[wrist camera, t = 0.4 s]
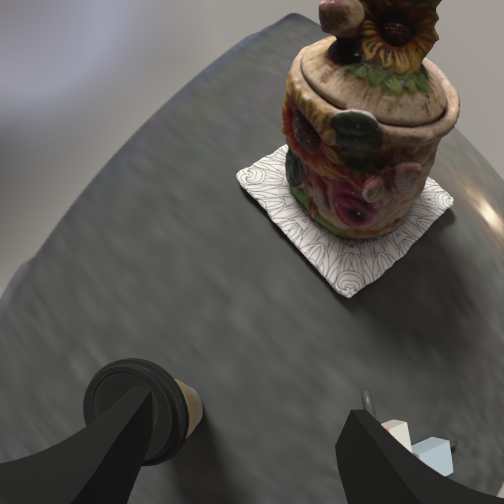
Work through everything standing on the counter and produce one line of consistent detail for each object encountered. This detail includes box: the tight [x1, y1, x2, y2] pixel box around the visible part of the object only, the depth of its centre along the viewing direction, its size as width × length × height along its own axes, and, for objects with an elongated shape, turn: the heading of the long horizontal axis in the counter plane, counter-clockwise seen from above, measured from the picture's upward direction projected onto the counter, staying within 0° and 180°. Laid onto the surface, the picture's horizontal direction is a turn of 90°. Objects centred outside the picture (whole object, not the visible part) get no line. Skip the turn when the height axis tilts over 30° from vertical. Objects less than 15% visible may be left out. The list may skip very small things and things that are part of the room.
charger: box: [411, 437, 458, 476], centre depth 26 cm, size 9×4×5 cm, turn 101°
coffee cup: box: [83, 358, 203, 466], centre depth 27 cm, size 9×9×15 cm
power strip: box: [361, 388, 412, 453], centre depth 27 cm, size 6×18×5 cm, turn 11°
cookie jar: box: [237, 0, 460, 298], centre depth 30 cm, size 25×25×32 cm
